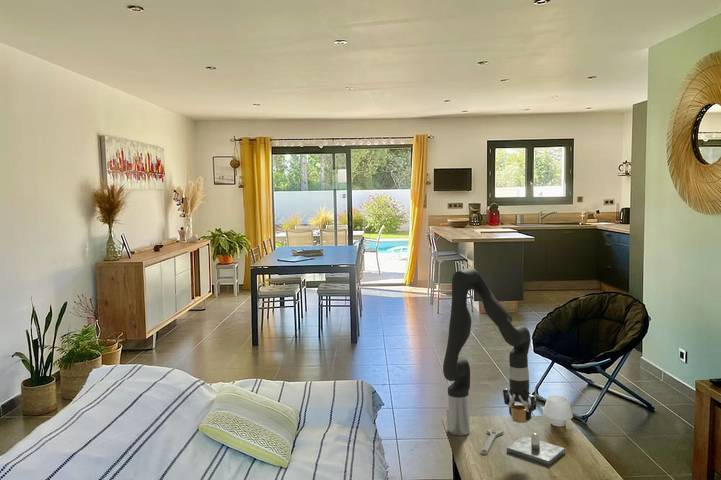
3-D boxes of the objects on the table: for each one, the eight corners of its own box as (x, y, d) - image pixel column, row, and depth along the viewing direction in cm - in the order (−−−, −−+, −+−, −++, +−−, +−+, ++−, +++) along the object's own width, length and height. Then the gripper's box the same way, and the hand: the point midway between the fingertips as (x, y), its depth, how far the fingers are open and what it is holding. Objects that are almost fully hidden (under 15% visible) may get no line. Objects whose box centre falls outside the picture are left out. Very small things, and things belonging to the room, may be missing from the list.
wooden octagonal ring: (508, 419, 212) (508, 407, 212) (517, 415, 216) (516, 403, 216) (523, 424, 207) (522, 411, 207) (531, 419, 211) (531, 406, 211)
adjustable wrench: (486, 456, 215) (486, 452, 215) (471, 453, 218) (471, 449, 218) (505, 432, 236) (504, 428, 236) (490, 429, 240) (490, 425, 239)
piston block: (506, 452, 217) (506, 433, 216) (523, 440, 227) (523, 422, 226) (548, 466, 204) (548, 445, 203) (564, 452, 214) (564, 433, 213)
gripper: (498, 375, 213) (499, 416, 214) (530, 383, 203) (532, 425, 204) (508, 371, 218) (509, 410, 219) (540, 378, 208) (541, 419, 209)
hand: (520, 417), depth 212 cm, fingers closed on wooden octagonal ring, 6 cm apart
